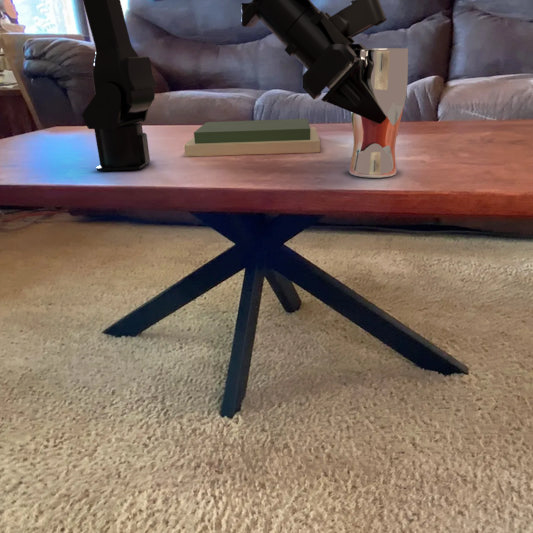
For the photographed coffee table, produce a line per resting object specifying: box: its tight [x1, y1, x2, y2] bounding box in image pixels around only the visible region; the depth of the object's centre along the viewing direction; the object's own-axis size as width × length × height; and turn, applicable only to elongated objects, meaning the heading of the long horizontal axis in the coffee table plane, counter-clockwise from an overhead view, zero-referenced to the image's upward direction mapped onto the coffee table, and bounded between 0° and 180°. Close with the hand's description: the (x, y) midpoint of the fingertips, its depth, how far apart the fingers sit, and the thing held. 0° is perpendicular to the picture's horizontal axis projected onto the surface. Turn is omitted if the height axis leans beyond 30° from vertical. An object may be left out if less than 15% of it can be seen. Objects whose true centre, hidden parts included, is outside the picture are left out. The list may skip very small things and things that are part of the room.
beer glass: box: [348, 47, 409, 179], centre depth 64 cm, size 7×7×15 cm
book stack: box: [183, 118, 321, 158], centre depth 89 cm, size 22×16×4 cm
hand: (385, 117), depth 64 cm, fingers closed on beer glass, 6 cm apart
